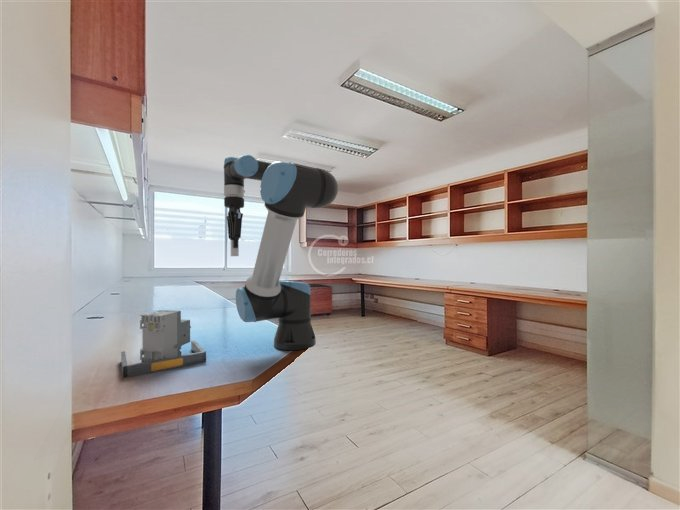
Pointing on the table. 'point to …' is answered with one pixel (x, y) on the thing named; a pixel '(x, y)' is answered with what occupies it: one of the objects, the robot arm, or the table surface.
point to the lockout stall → (163, 362)
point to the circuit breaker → (163, 334)
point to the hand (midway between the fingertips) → (234, 256)
